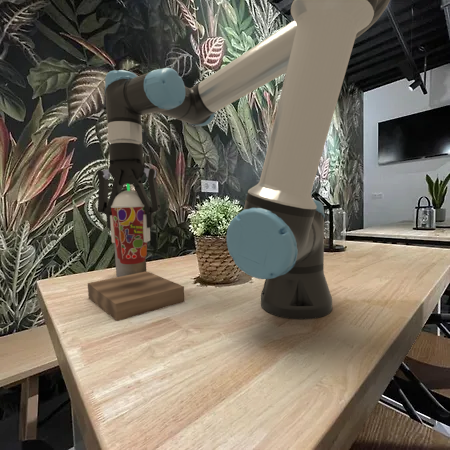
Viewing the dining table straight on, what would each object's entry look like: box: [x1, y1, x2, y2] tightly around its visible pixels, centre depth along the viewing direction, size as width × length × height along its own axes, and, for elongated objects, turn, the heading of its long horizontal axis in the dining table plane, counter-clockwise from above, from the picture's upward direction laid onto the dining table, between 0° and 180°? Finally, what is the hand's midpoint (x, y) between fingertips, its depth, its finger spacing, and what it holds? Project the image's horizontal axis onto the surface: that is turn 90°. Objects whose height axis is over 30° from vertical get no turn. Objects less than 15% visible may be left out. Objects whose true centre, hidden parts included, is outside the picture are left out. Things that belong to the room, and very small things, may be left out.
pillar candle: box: [113, 242, 147, 277], centre depth 94 cm, size 10×10×15 cm
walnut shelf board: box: [87, 270, 185, 322], centre depth 70 cm, size 20×16×4 cm
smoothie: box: [111, 184, 148, 264], centre depth 68 cm, size 8×8×20 cm
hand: (131, 241), depth 69 cm, fingers closed on smoothie, 7 cm apart
